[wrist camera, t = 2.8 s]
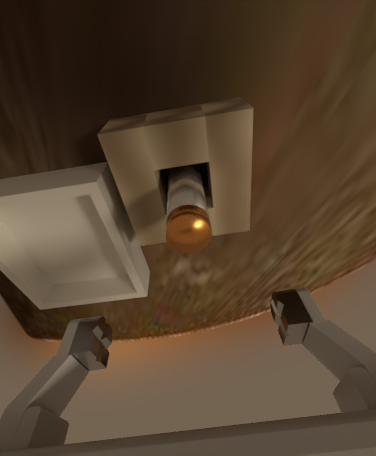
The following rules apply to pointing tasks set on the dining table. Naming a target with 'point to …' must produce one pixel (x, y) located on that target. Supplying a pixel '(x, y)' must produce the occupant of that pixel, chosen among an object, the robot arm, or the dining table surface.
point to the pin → (187, 211)
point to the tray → (70, 238)
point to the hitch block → (183, 162)
